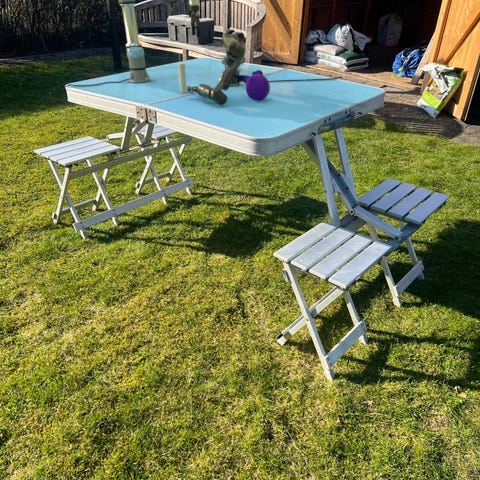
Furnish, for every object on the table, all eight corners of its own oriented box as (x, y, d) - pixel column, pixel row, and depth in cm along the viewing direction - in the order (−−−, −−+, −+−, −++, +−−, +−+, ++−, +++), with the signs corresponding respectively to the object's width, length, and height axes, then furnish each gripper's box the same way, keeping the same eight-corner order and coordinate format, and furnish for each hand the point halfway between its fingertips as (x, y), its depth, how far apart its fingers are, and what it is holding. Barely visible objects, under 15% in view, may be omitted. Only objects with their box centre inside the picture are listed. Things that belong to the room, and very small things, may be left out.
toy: (254, 92, 298) (269, 106, 277) (229, 87, 290) (243, 101, 270) (261, 68, 290) (277, 80, 269) (236, 62, 282) (250, 75, 262)
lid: (186, 66, 297) (185, 62, 296) (183, 67, 293) (183, 64, 292) (179, 66, 298) (178, 62, 297) (176, 67, 294) (176, 64, 293)
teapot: (225, 72, 363) (224, 52, 355) (218, 70, 371) (218, 50, 364) (248, 69, 372) (247, 50, 364) (241, 67, 381) (240, 48, 373)
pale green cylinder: (187, 91, 305) (185, 63, 296) (185, 92, 302) (183, 64, 293) (181, 91, 306) (179, 63, 297) (179, 92, 303) (177, 64, 293)
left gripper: (203, 5, 328) (205, 37, 338) (194, 4, 348) (196, 34, 359) (193, 6, 326) (195, 37, 336) (185, 4, 346) (187, 34, 357)
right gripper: (215, 83, 279) (203, 79, 291) (195, 86, 272) (183, 82, 284) (216, 96, 283) (204, 91, 294) (196, 99, 276) (184, 94, 288)
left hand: (196, 36), depth 348 cm, fingers open, 13 cm apart
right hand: (193, 86), depth 289 cm, fingers open, 8 cm apart
